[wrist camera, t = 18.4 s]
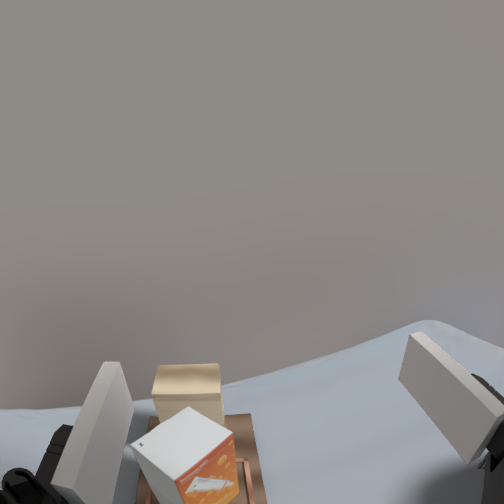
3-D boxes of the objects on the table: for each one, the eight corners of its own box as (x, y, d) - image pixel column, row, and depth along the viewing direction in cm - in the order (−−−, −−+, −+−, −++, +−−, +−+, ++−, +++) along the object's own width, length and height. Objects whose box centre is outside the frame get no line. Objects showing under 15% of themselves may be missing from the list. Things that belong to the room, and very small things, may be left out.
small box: (197, 532, 22) (173, 481, 19) (158, 503, 25) (127, 443, 22) (241, 492, 28) (234, 430, 25) (202, 469, 32) (186, 403, 28)
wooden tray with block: (275, 549, 20) (281, 508, 17) (132, 548, 19) (86, 502, 15) (250, 417, 43) (247, 352, 40) (151, 420, 42) (133, 356, 38)
